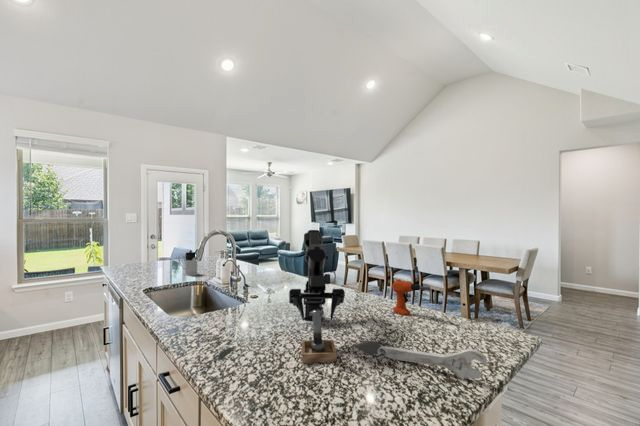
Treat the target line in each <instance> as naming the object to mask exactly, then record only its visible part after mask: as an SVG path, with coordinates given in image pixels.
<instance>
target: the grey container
mask: <svg viewBox="0 0 640 426" xmlns="http://www.w3.org/2000/svg"><path fill="white" fill-rule="evenodd" d="M180 256H183V260H184V262H185V263H184V264H185V265H184V266H185V267H184V266H183V265H182V263H181V261H180V259H178V262H179V265H180V266H181V267H182V269H183V270H185V271H184V276H185V277H189V276H190V277H191V276H197V275H199V273H198V260H197V261H196V260H195V252H190V251H189V252H185V255H184V254H179V255H178V258H180Z"/></svg>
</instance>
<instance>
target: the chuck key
mask: <svg viewBox="0 0 640 426" xmlns="http://www.w3.org/2000/svg"><path fill="white" fill-rule="evenodd" d="M311 315H312V318H313V321H312V336H313V337H312V338H313V339H312V340H313V341H312V342H311V349H312V353H325V348H324V341H323V340H324V339H323V337H322V336H323V335H322V334H323V333H322V332H323V331H322V318H321V315H323V316H324V315H325V311H324V310H323V311H321V310H320V309H314V310H312V312H309V316H311Z"/></svg>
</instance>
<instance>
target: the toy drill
mask: <svg viewBox="0 0 640 426" xmlns="http://www.w3.org/2000/svg"><path fill="white" fill-rule="evenodd" d="M391 287H392V291H393V292H394V293H395V294H396V304H395V306H393V312H392V313H395V314H398V315H401V316H406V317H407V316H410V315H411V311H410V310H409V309H408V308H407V305H406V304H407V302H409V299H408V296H407V294H406V293H411V292H414V291H420V290H431V287H430V286H423V285H422V286H421V285H420V284H419V283H418V284H416V283H413V282H411V281H408V280H407V281H405V280H401V279H397V280H395V281H394V282H393V283H392V285H391Z"/></svg>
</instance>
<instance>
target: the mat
mask: <svg viewBox="0 0 640 426" xmlns="http://www.w3.org/2000/svg"><path fill="white" fill-rule="evenodd" d="M381 346H382V345H381V344H379V343H377V342H375V341H373V340H369V341H365V342H362V343H358V344H356V345H353V347H354V348H356V349H358V350H360V351H361V352H363V353H365V354H367V355H368V356H372V355H376V354H378V353H377V351H378V349H379V348H380V347H381ZM380 351H381V353H382V352H385V350H383V349H380Z"/></svg>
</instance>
